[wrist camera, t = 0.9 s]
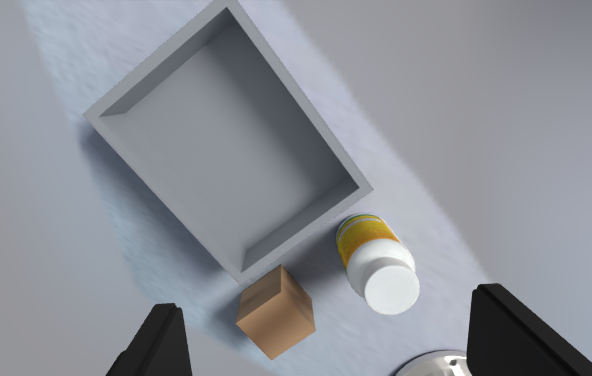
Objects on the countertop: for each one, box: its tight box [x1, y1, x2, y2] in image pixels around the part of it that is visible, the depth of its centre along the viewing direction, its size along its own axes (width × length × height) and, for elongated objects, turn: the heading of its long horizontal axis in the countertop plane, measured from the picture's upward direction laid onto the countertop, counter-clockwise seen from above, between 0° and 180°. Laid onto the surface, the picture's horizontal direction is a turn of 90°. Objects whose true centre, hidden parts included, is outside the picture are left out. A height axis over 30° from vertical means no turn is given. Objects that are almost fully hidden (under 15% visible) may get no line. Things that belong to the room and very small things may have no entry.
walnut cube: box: [236, 264, 316, 360], centre depth 32 cm, size 5×5×5 cm
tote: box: [82, 0, 374, 285], centre depth 28 cm, size 18×14×5 cm
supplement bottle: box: [336, 213, 420, 315], centre depth 28 cm, size 5×5×10 cm
